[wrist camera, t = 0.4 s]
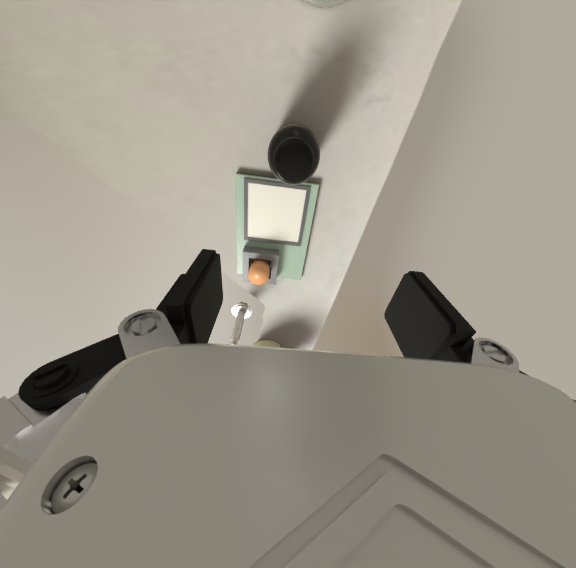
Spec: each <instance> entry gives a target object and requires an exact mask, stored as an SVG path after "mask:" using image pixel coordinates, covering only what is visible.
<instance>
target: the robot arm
mask: <svg viewBox="0 0 576 568" xmlns="http://www.w3.org/2000/svg"><path fill="white" fill-rule="evenodd" d="M303 1H305V2H307V3H308V4H310V5H312V6H316V7H320V8H330V7H334V6H337V5H340V4H342V3H344V2H345V1H347V0H303ZM222 301H223V290H222V278H221V263H220V254H216V251H215V250H207V249H202V251H201V252H200V253H199V255H198V256H197V258H196V259H195V261H194V262H193V264H192V265H191V267H190V268H189V270H188V271H187V273H186V274H181V275H180V276H179V278H178V279H177V281H176V282H175V283H174V285H173V286H172V288H171V289H170V290H169V292H168V293H167V295H166V296H165V297H164V299H163V300H162V302H161V303H160V304H159V306H158V307H157V309H156V310H153V309H148V310H141V311H138V312H135V313H133V314H131V315H129V316H128V317H126V318H125V319H124V320H123V321H122V322H121V323H120V325H119V327H118V332H119V334H117V335H114V336H112V337H110V338H107V339H105V340H102V341H100V342H97V343H95V344H93V345H90V346H88V347H86V348H83V349H81V350H78V351H76V352H73V353H71V354H68V355H66V356H64V357H61V358H59V359H57V360H54V361H52V362H49V363H47V364H46V365H43V366H42V367H40V368H38V369H37V370H36V371H34V372H33V373H31V374H30V375H29V376H28V377H27V378H26V379H25V380H24V382H23V383H22V385H21V386H20V388H19V393H17V394H15V395H14V396H12V397H11V398H9V399H7V398H6V397H5V396H4V397H2V398H0V568H576V401H575V400H573V399H571V398H570V397H569V396H567V395H566V394H565V393H563V392H562V391H560V390H559V389H557V388H555V387H553V386H551V385H549V384H547V383H545V382H543V381H541V380H538V379H536V378H533V377H531V376H529V375H527V374H525V373H523V372H521V371H519V363H518V361H517V359H516V357H515V356H514V355H513V354H512V353H511V352H510V351H509V350H508V349H507V348H505V347H504V346H503V345H501V344H499V343H497V342H495V341H493V340H490V339H487V338H477V339H475V340H473V339H472V338H471V337H472V336H473V335H474V334H475V333H476V331H475V330H474V329H473V328H472V327H471V325H469V323H468V322H467V321H466V320H465V319H464V318H463V317H462V315H461V314H460V313H459V312H458V311H457V310H456V309H455V308H454V306H452V304H451V303H450V302H449V301H448V300H447V299H446V298H445V297H444V295H443V294H442V293H441V292H440V291H439V290H438V289H437V288H436V286H435V285H434V284H433V283H432V282H431V281H430V280H429V279H428V278H427V276H426V275H425V274H424V273H422V272H415V271H409V272H408V273H406V274H405V275H404V276H403V278H402V280H401V282H400V284H399V286H398V288H397V290H396V291H395V293H394V295H393V297H392V299H391V301H390V303H389V305H388V307H387V309H386V311H385V319H386V321H387V323H388V325H389V327H390V329H391V331H392V333H393V335H394V337H395V339H396V341H397V343H398V346H399V348H400V350H401V352H402V354H403V356H404V357H395V356H383V355H371V354H370V355H369V354H358V353H345V352H332V351H318V350H306V349H292V348H278V347H264V346H248V345H234V344H208V340H209V337H210V335H211V332H212V329H213V327H214V324H215V321H216V318H217V316H218V313H219V310H220V308H221V305H222ZM86 475H87V476H86Z"/></svg>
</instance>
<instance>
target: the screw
mask: <svg viewBox="0 0 576 568" xmlns="http://www.w3.org/2000/svg"><path fill="white" fill-rule="evenodd" d="M232 313H233V315H234V316H236V320H235V324H234V328H233V332H232V336H231V339H232V341H231V344H234V345H237V342H238V340H239V338H240V333H241V330H242V326H243V321H244V319H246V318H248V317H250V316H251V313H252V310H251V308H250V307H249V306H248V305H247V304H246V303H243V302H241V303H239V304H236V305H234V306H233V308H232Z"/></svg>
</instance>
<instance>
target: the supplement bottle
mask: <svg viewBox="0 0 576 568" xmlns="http://www.w3.org/2000/svg"><path fill="white" fill-rule="evenodd" d="M319 160H320V149H319V145H318V142H317V139H316V138H315V136H314V135H313V133H312V132H311V131H310V130H309V129H307V128H306V127H305V126H303V125H300V124H295V123H293V124H288V125H286V126H284V127H282V128H281V129H280V130H279V131H277V132H276V134H275V135H274V136H273V138H272V140H271V142H270V144H269V148H268V162H269V166H270V169H271V171H272V172H273V174H274V175H275V176H276V177H277V178H278V179H279V180H280V181H282V182H284V183H286V184H290V185H297V184H301V183H304V182H305V181H307V180H308V179H310V178H311V177H312V175H313V174H314V173H315V171H316V169H317V167H318V164H319Z"/></svg>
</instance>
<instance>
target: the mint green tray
mask: <svg viewBox="0 0 576 568" xmlns="http://www.w3.org/2000/svg"><path fill="white" fill-rule="evenodd" d="M318 188H319V184H316V183H308V182H304V183H301V184H297V185H290V184H286V183H284V182H282V181H280V180H279V179H278V178H271V177H263V176H256V175H248V174H241V173H236V215H237V265H238V274H243V281H247V282H251V281H250V280H249V278H248V273H249V269H250V266H251V262H252V260H253V259H263V260H268V261H269V263H270V273H269V279H268V281H267V282H266V283H267V284H276V278H286V279H295V280H301V276H302V271H303V266H304V261H305V256H306V250H307V245H308V240H309V235H310V230H311V224H312V219H313V214H314V209H315V204H316V199H317V193H318Z"/></svg>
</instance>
